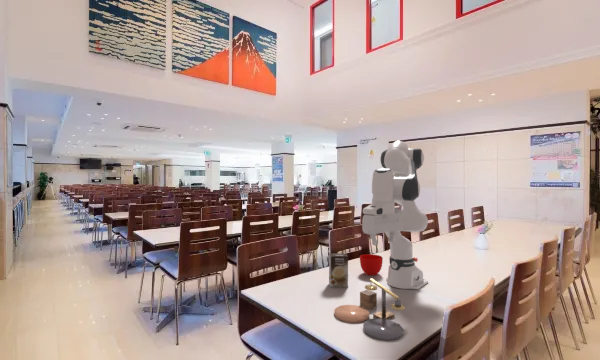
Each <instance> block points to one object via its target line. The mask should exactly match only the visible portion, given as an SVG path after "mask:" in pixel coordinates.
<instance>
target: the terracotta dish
mask: <svg viewBox="0 0 600 360" xmlns="http://www.w3.org/2000/svg"><path fill="white" fill-rule="evenodd" d="M333 311H334V313H333V315H334V316H335V318H336V319H338V320H339V321H342V322H345V323H351V324H355V323H364V322H366V321H367V320H369V319H370V311H369V309H366V308H364V307H362V306H360V305H356V304H343V305H339V306H337V307H335V308H334V310H333Z"/></svg>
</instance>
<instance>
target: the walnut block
mask: <svg viewBox="0 0 600 360" xmlns="http://www.w3.org/2000/svg"><path fill="white" fill-rule="evenodd" d="M377 296H378V294H377V292H374V290H367V289H366V290H363V291H362V290H361V291H360V292H359V306H361V307H363V308H365V309H367V310H372V309H375V308H377V305H378V303H377V302H378V301H377V299H378V298H377Z"/></svg>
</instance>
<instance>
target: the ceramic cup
mask: <svg viewBox="0 0 600 360" xmlns="http://www.w3.org/2000/svg"><path fill="white" fill-rule="evenodd" d="M383 262H384V260H383V257H382V255H378V254H373V253H372V254H370V253H369V254H368V253H367V254H365V253H364V254H361V255H359V263H360V268H361V269H362V272H364V274H365V275H366V274H367V276H370V275H373V276H374V275H375V276H377V275H378V274H379V273H380V272H381V270H382V267H383Z"/></svg>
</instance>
